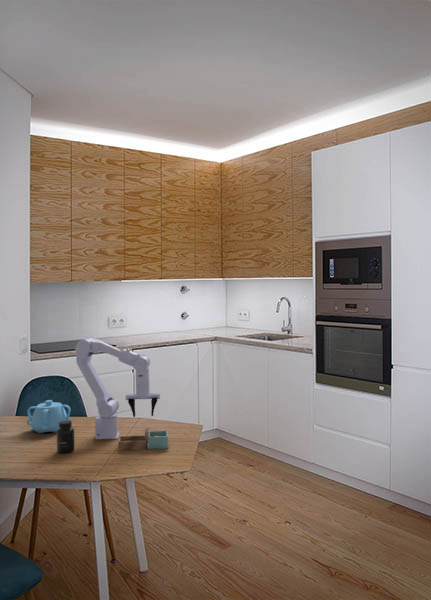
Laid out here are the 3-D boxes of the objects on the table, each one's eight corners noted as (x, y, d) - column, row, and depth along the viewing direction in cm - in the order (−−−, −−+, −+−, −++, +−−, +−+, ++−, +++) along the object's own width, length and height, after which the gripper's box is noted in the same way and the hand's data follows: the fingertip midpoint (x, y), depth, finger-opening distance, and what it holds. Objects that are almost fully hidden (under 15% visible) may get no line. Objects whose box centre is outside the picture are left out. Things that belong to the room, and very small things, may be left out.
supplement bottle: (58, 455, 202) (57, 425, 202) (55, 450, 208) (54, 421, 208) (76, 452, 205) (75, 422, 205) (72, 447, 211) (71, 418, 211)
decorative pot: (40, 438, 225) (39, 407, 224) (24, 430, 236) (23, 400, 236) (74, 429, 236) (73, 400, 235) (57, 422, 248) (56, 394, 247)
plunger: (145, 443, 209) (144, 432, 208) (145, 439, 213) (145, 428, 213) (148, 443, 209) (147, 432, 208) (148, 439, 214) (148, 428, 213)
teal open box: (147, 449, 207) (147, 437, 207) (148, 443, 215) (148, 431, 215) (167, 448, 208) (167, 436, 208) (168, 442, 216) (167, 430, 216)
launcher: (118, 450, 206) (118, 442, 206) (120, 444, 214) (120, 435, 214) (146, 449, 207) (146, 441, 207) (147, 443, 215) (147, 434, 215)
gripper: (124, 387, 217) (125, 419, 218) (159, 385, 218) (160, 417, 219) (126, 383, 224) (126, 414, 225) (159, 382, 225) (160, 413, 226)
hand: (143, 415), depth 222 cm, fingers open, 7 cm apart
